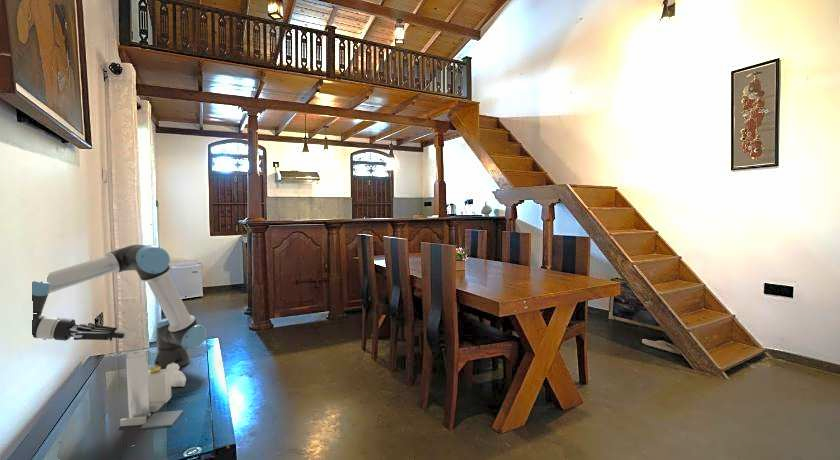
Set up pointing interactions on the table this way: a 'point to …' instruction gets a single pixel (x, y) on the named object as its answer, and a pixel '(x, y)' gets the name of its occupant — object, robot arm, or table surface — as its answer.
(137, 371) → the air filter
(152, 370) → the release button
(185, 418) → the table surface
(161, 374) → the housing
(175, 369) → the duck figurine
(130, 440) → the table surface
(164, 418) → the mat
